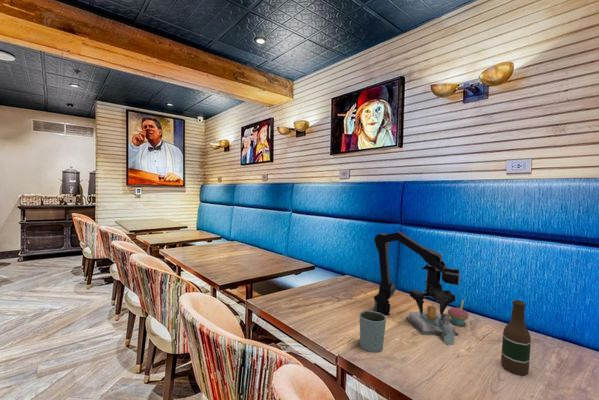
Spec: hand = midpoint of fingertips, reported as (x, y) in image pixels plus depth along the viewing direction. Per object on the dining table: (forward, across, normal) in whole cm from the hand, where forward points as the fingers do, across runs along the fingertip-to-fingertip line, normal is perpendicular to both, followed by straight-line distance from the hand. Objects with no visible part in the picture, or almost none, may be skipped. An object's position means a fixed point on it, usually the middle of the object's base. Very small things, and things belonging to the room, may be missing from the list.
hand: (431, 314), depth 130 cm
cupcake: (+6, +15, +4) cm, 17 cm away
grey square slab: (+6, 0, -4) cm, 7 cm away
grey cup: (+6, -33, -18) cm, 38 cm away
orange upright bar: (+5, 0, 0) cm, 5 cm away
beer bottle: (+6, +14, -31) cm, 35 cm away
